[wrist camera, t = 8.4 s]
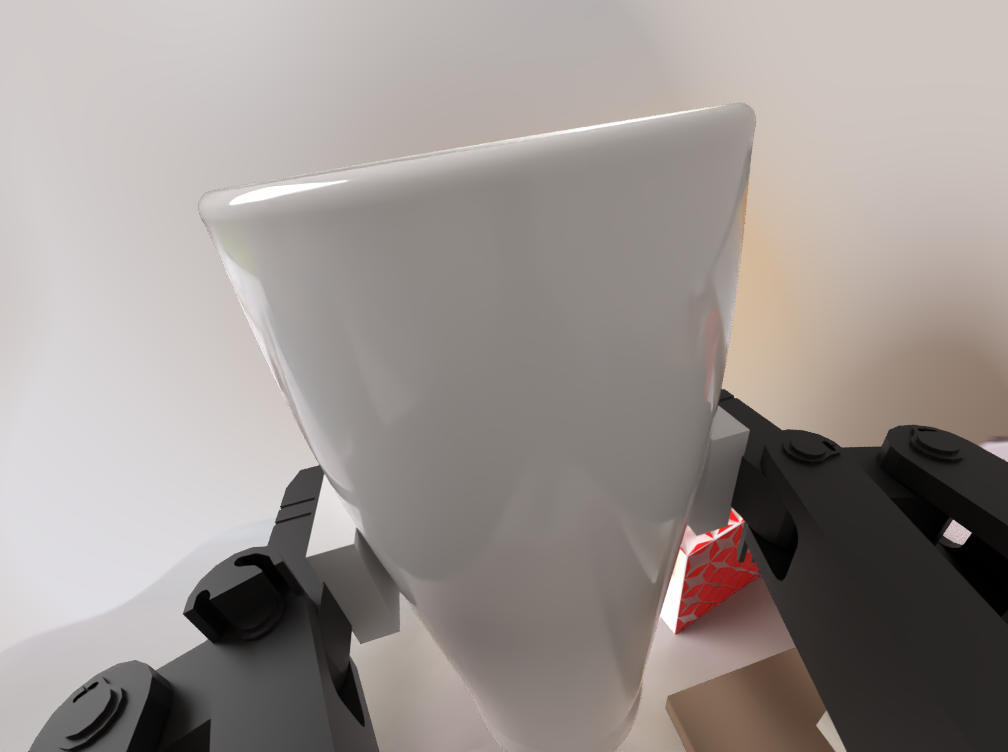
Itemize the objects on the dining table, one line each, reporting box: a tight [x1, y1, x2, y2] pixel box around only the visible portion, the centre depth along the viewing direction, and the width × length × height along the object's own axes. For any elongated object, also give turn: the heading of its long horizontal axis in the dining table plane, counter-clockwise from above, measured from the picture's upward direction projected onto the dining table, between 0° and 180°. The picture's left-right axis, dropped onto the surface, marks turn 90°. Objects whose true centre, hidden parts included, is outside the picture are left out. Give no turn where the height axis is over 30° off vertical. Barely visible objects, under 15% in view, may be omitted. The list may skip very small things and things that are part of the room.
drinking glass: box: [198, 103, 756, 752], centre depth 9 cm, size 7×7×15 cm
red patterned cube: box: [660, 508, 761, 634], centre depth 27 cm, size 8×8×8 cm
